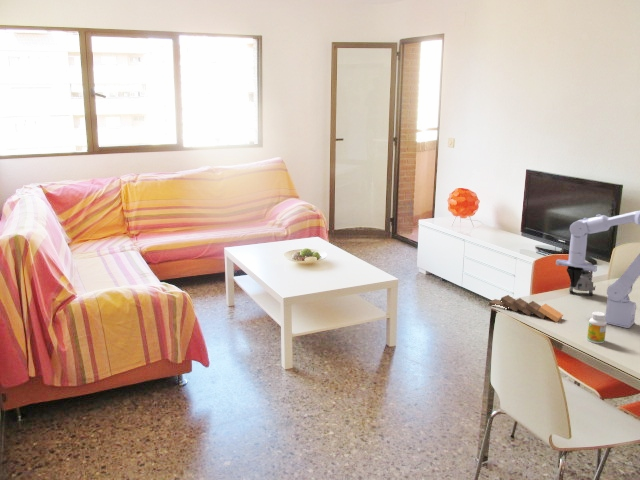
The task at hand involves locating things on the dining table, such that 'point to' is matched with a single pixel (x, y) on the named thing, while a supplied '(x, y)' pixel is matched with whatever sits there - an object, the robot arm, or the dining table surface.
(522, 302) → the tile
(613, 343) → the dining table surface
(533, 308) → the tile
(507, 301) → the tile
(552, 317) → the orange tile
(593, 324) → the supplement bottle
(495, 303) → the tile
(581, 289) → the figurine
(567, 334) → the dining table surface
